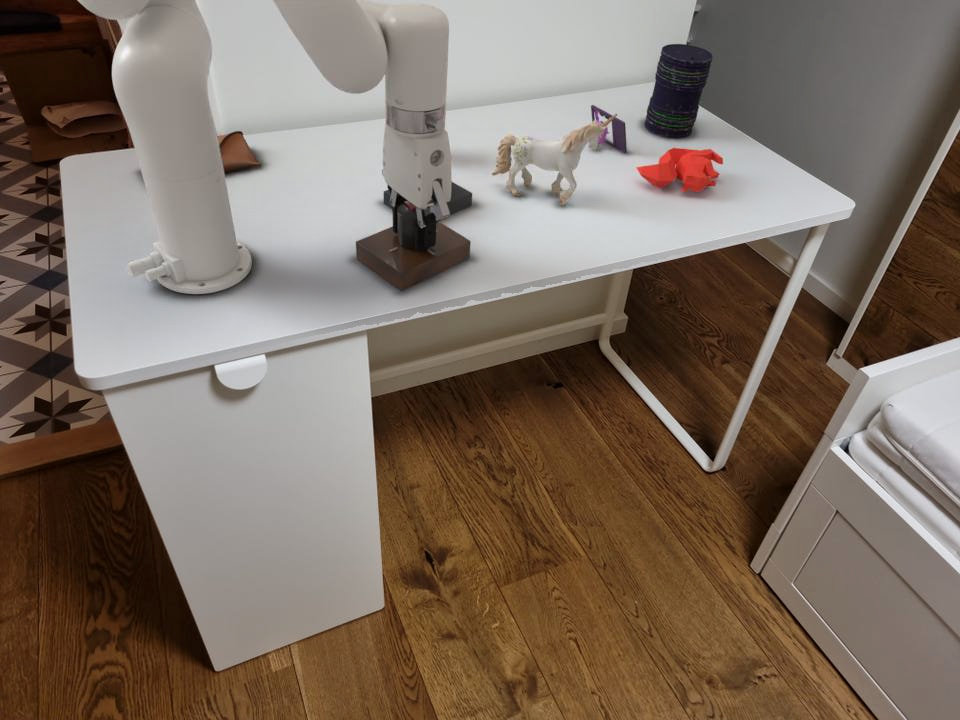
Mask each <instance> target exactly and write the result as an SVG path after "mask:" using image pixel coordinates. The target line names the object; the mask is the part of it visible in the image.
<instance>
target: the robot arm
mask: <svg viewBox="0 0 960 720" xmlns="http://www.w3.org/2000/svg"><path fill="white" fill-rule="evenodd" d="M272 1H273V2H274V4H275V6H276V8H277V9H278V11H279V12H280V14H281V16H282V18H283V19H284V21H285V23H286V24H287V26H288V27H289V28H290V30H291V32H292V34H293V36H294V37H295V38H296V40H297V41H298V42H299V44H300V45H301V47H302V48H303V50H304V51H305V53H306V55H308V57H309V58H310V60H311V61H312V63H313V65H314V66H315V67H316V69H317V70H318V71H319V73H320V74H321V75H322V76H323V78H324V79H325V80H326V81H327V82H328V83H329V84H330V85H332V86H333V87H334V88H335V89H338V90H339V91H341V92H344V93H347V94H353V95H357V94H358V95H359V94H365V93H367V92H370V91H372V90H373V89H374V88H376V87H377V86H378V85H379V84H380V83H381V81H382V80H383V78H384V95H385V96H384V101H385V105H384V106H385V107H384V108H385V109H384V110H385V123H384V131H383V145H382V146H383V147H382V170H381V174H382V177H383V179H384V181H385V183H386V184H387V190H389V192H390V194H391V198H390V203H391V205H392V206H393V207H394V206H395V207H394V208H393V209H392V226H393V232H395V233H396V234H397V233H398V207H399V206H400V205H401V204H403V203H404V201H408V202H411V203H412V204H413V205H415V206H416V212H417V219H418V225H415V250H417V251H418V252H419V251H422V250H425V249H427V248H430V247H433V246H435V244H436V223H439V222H440V221H442V220H444V219H447V218H449V217H451V214H450V212H449V209H448V206H447V203H446V202H449V201H450V199H451V181H452V155H451V154H452V153H451V146H450V138H449V133H448V131H447V130H446V112H447V94H448V93H447V92H448V91H447V89H448V67H449V66H448V64H449V44H450V42H449V39H450V22H449V19H448V17H447V15H446V13H445V12H444V11H443V10H441V9H440V8H438V7H436V6H433V5H430V4H426V3H417V2H408V3H399V4H397V5H396V4H390V3H389V4H388V3H384V2H383V3H382V2H377V1H372V0H272ZM77 2H78V3H80V5H81V6H83V7H84V8H85V9H86V10H87V11H89V12H90V13H92V14H94V15H95V16H97V17H99V18H100V17H101V18H103V19H106V20H111V21H117V23H118V25H119V27H120V29H121V30H122V32H123V33H122V36H121V37H120V40H119V41H118V43H117V45H116V48H115V51H114V54H113V57H112V64H111V80H112V81H111V82H112V86H113V91H114V94H115V97H116V100H117V103H118V106H119V108H120V111H121V113H122V116H123V118H124V120H125V123H126V125H127V128H128V131H129V134H130V137H131V141H132V144H133V148H134V151H135V154H136V155H135V156H136V159H137V162H138V166H139V169H140V173H141V175H142V179H143V183H144V187H145V191H146V195H147V198H148V202H149V206H150V210H151V214H152V219H153V221H154V225H155V229H156V232H157V237H158V241H155V242H153V243H152V248H153V251H151V252H149V253H148V254H147V256H145V257H143V258H139V259H136V260H133V261H129V262H127V263H125V269H126V272H127V273H128V275H129V276H130V278H132V279H134V278H137V277H139V276H142V275H144V276H145V278H146V279H147V281H148V282H152V281H155V280H157V281H158V283H159V284H161V285H162V287H164V288H167V289H168V290H169V291H173V292H176V293H179V294H185V295H186V294H187V295H204V294H206V295H207V294H212V293H217V292H221V291H223V290H227V289H229V288H231V287H233V286H235V285H237V284H239V283H241V281H242V280H244V279H245V278H246V277H247V276H248V275H249V273H250V272H251V269H252V266H253V261H252V260H253V259H252V255H251V253H250V250H249V249H248V248H247V247H246V246H245V245H244V244H242V243H241V242H238V241H237V236H236V230H235V225H234V219H233V214H232V213H233V212H232V208H231V203H230V196H229V191H228V185H227V180H226V174H224V168H223V163H222V158H221V153H220V147H219V142H218V137H217V136H218V133H217V128H216V125H215V121H214V116H213V113H212V112H213V111H212V108H211V104H210V98H209V89H208V79H209V75H210V68H211V64H212V58H213V43H212V38H211V34H210V31H209V29H208V26H207V24H206V22H205V19H204V17H203V14H202V12H201V10H200V8H199V6H198V5H197V1H196V0H77ZM427 208H430V212H431V213H430V214H428V215H427V216H425V212H424V210H425V209H427Z"/></svg>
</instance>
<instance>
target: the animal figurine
mask: <svg viewBox="0 0 960 720" xmlns="http://www.w3.org/2000/svg"><path fill="white" fill-rule="evenodd" d="M713 162H715V163H717V164H718V165H724V159H723V157H722V156H721V155H720V154H718V153H716V152H715V150H713V149H711V148H707V149H706V148H705V149H701V150H699V149H691V148H679V147H672V148H670V149H668V150H666V152H665V153H664V154H663V155H661V156H660V157H659V159H658V163H657V164H655V163H654V164H650V165H641V166H637V167H635V168H636V170H637V171H638V173H639V175H640V176H641V178H643V179H645V181H646V182H647V183H649V184H651V186H654V187H657V188H659V189H662V188H664V187H666V186H668V185H669V184H671V183H672V182H674V181H675V180H676V179H677V180H679V181H680V182H682V184H683V185H682V186H683V187H681V188H680V190H681V191H682V192H684V193H685V192H687V191H692V192H695V193H697V192H702V190H704V188H706V187H716V185H717V181H716V179H718V178H719V176H720V172H718V171H716V169H714V165H713Z"/></svg>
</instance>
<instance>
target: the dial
mask: <svg viewBox="0 0 960 720" xmlns="http://www.w3.org/2000/svg"><path fill="white" fill-rule="evenodd" d="M424 212H425V216H427V215H428V214H430V213H431V212H430V208H427V209H425V210H424ZM415 225H418V219H417V212H416V206H415V205H413V204H412V203H411V202H408V201H404V203H403V204H401V205H400V206H399V207H398V243H399V245H400V246H402V247H404V248H406V249H411V250H415Z"/></svg>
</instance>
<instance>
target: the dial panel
mask: <svg viewBox="0 0 960 720" xmlns="http://www.w3.org/2000/svg"><path fill="white" fill-rule="evenodd" d="M471 244H472V241H471V240H470V239H468V238H466V237H465V236H464V235H462V234H460V233H458V232H457V231H455V230H454V229H452V228H450V227H448V226H447V225H445V224H444V223H442V222H440V221H439V223H436V244H435V246H433V247H430V248H427V249H425V250H422V251H419V252H418V251H417V250H411V249H406V248H404V247H402V246H400V245H399V243H398V233H397V234H396V233H395V232H393V225H392V226H390V227H388V228H385V229H383V230H380V231H378V232H375V233H373V234H370V235H368V236H367V237H364V238H361V239H358V240H356V241H355V254H356V256H355V257H356V260H357V261H358V262H360V263H362V265H364V266H365V267H367V268H368V269H369V270H371V271H372V272H374V273H375V274H376V275H378V276H379V277H380V278H381V279H383V280H385V281H386V282H387V283H389V284H390V285H392V286H393V287H394V288H396V289H397V290H398V291H400V292H403V291H405V290H407V289H410V288H411V287H413V286H415V285H417V284H420V283H422V282H424V281H426V280H428V279H430V278H433V277H434V276H436V275H439V274H440V273H442V272H444V271H447V270H449V269H451V268H453V267H455V266H457V265H459V264H461V263H463V262H465V261H467V260H469V259H471Z"/></svg>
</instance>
